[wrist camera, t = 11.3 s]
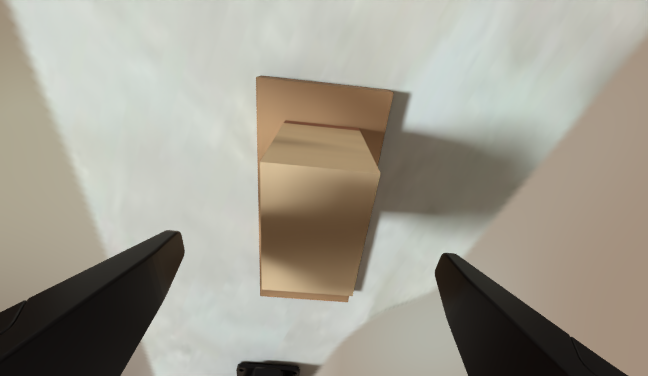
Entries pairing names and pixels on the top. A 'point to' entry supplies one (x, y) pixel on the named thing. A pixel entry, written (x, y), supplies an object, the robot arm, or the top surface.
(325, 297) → the board
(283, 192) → the block
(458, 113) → the top surface
